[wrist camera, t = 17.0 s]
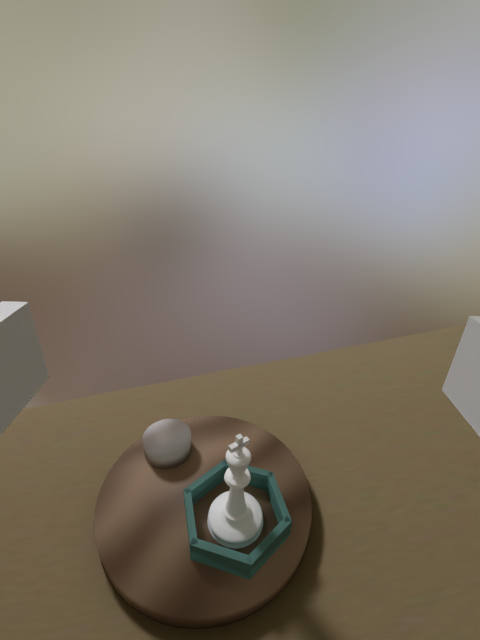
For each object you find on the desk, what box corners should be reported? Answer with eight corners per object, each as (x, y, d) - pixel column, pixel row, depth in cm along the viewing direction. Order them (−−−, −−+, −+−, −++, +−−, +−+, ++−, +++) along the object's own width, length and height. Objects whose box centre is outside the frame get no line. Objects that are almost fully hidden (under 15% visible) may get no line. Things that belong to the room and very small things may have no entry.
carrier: (350, 504, 33) (357, 480, 32) (182, 714, 21) (180, 692, 19) (217, 402, 46) (217, 381, 44) (61, 494, 33) (54, 469, 32)
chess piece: (274, 526, 30) (285, 443, 25) (227, 561, 27) (230, 476, 22) (241, 485, 33) (246, 405, 28) (197, 512, 30) (194, 429, 26)
